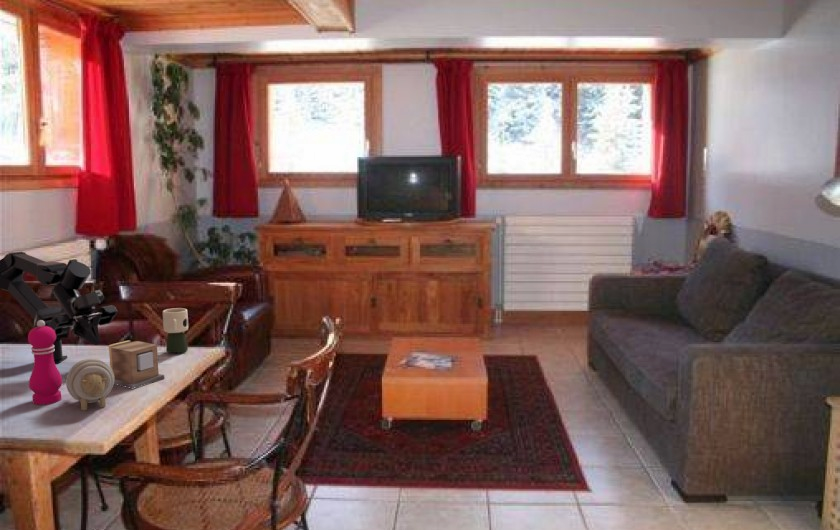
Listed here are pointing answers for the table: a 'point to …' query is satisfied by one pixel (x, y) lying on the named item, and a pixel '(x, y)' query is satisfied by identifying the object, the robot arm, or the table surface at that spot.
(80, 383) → the toy sheep
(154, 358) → the wooden drawer box
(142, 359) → the tan drawer
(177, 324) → the character mug
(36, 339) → the pepper mill
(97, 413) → the table surface
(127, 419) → the table surface
